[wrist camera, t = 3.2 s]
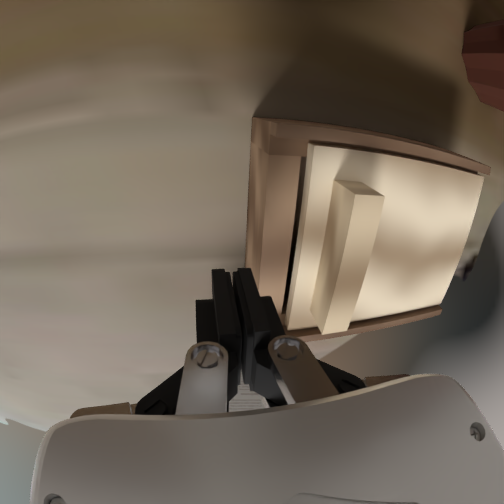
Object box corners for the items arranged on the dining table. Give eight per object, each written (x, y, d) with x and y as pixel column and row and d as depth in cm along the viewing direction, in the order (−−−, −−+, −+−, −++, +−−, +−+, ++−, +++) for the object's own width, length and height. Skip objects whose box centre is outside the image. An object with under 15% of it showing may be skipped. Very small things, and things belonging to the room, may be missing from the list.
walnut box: (252, 117, 16) (277, 123, 11) (437, 146, 19) (490, 167, 14) (243, 289, 23) (258, 347, 17) (403, 275, 25) (439, 314, 20)
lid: (308, 142, 13) (335, 154, 10) (476, 173, 15) (505, 187, 13) (284, 322, 18) (297, 356, 16) (435, 298, 21) (454, 319, 18)
